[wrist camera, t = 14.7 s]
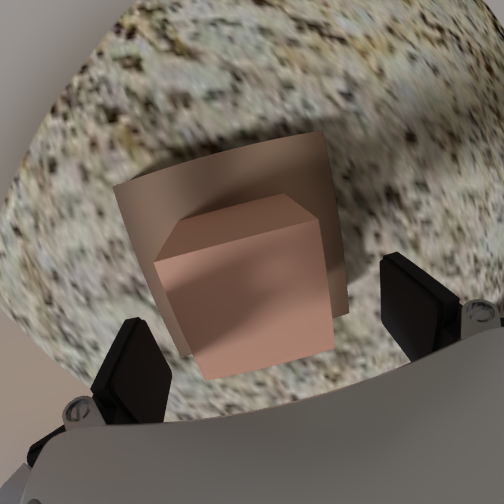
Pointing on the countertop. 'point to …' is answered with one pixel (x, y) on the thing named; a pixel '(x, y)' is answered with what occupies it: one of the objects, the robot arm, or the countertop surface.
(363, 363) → the countertop surface
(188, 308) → the cube
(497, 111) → the countertop surface
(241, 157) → the base
